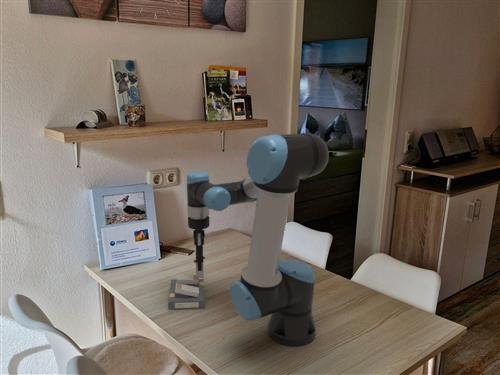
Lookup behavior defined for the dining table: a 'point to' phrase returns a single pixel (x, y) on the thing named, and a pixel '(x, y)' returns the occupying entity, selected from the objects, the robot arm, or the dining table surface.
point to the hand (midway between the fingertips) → (199, 277)
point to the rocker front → (186, 290)
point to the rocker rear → (187, 279)
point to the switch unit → (187, 297)
